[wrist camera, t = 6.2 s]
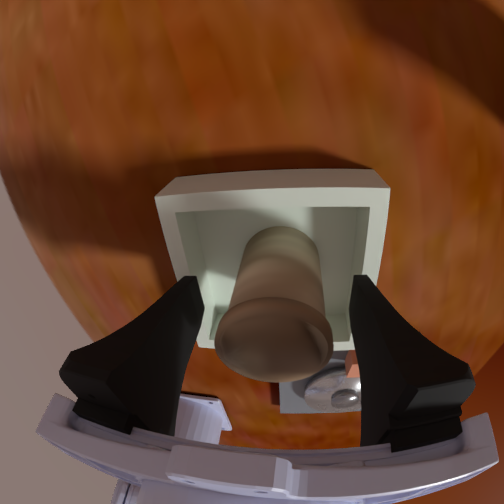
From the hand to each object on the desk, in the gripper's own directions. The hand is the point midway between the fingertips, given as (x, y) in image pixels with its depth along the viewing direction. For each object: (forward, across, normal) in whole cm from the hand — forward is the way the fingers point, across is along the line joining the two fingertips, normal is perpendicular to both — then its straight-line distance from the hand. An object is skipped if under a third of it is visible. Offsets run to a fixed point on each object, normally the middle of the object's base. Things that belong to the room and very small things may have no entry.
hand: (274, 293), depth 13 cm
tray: (+3, 0, 0) cm, 3 cm away
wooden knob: (+3, 0, 0) cm, 3 cm away
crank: (+2, -6, +12) cm, 14 cm away
